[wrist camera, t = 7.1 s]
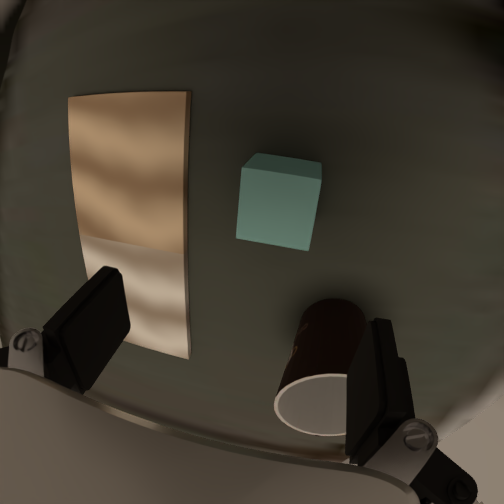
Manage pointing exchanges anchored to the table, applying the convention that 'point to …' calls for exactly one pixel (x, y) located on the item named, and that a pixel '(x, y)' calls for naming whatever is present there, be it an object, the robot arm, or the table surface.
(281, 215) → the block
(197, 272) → the table surface
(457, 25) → the table surface
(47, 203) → the table surface
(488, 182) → the table surface
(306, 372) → the coffee mug
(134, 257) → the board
